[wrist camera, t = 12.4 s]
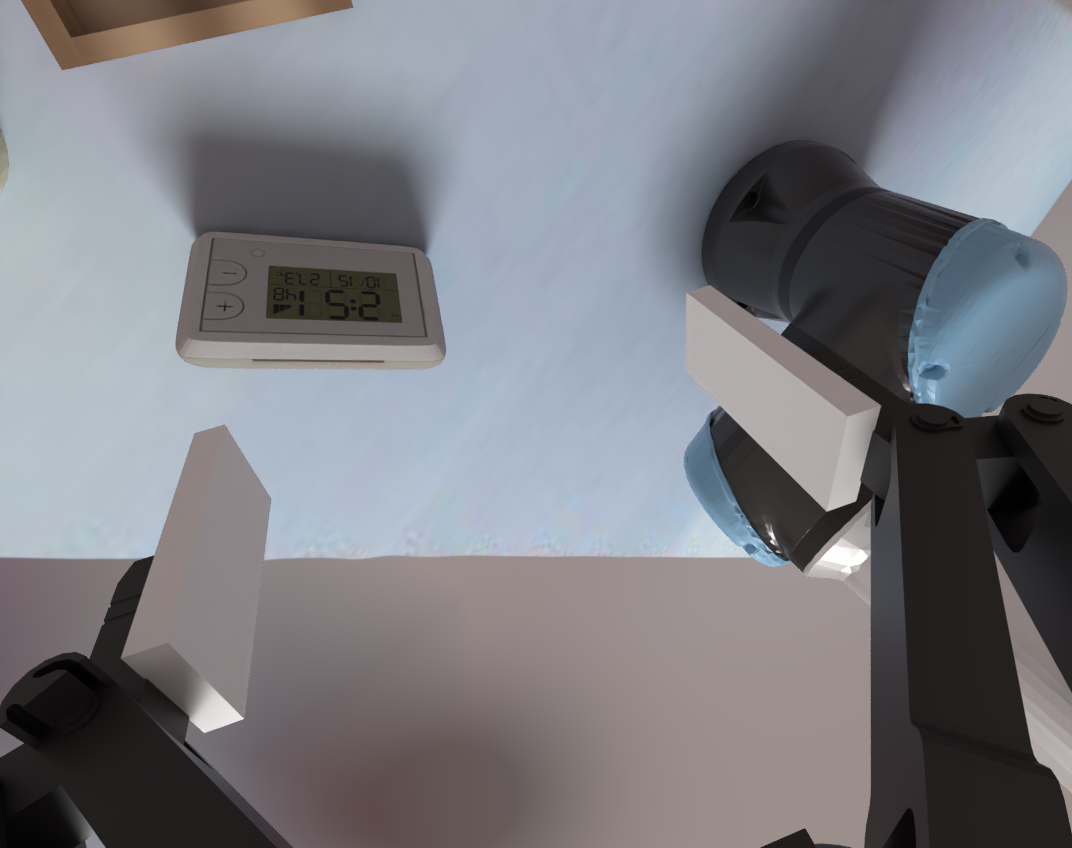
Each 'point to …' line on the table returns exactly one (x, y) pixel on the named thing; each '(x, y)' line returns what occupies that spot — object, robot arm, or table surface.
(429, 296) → the digital clock
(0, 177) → the reusable coffee cup
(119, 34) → the wooden tray
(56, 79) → the table surface
